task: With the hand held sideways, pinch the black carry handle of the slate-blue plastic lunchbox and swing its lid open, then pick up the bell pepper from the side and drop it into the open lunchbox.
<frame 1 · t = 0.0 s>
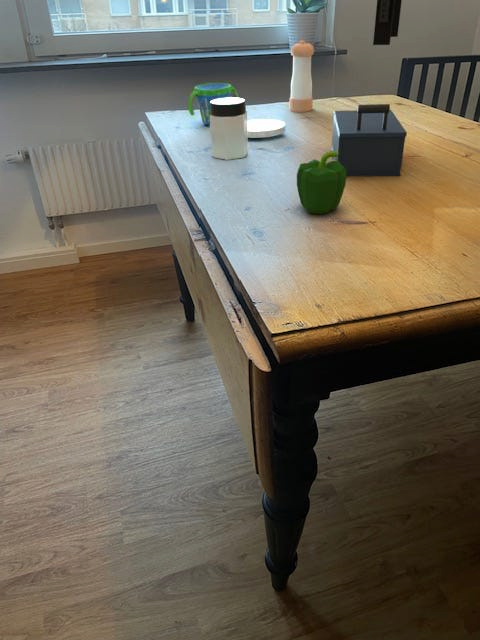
hand: (385, 40, 90), 24 cm above the table, tool pointing down, fingers open, 13 cm apart
lunchbox lid: (368, 111, 105), point 11 cm above the table, hinge at 0.0°
bell pepper: (319, 210, 89), on the table
lunchbox: (363, 161, 111), on the table
pepper shaker: (300, 110, 158), on the table
snack cup: (215, 124, 147), on the table
jar: (230, 155, 120), on the table
plastic lid: (259, 135, 134), on the table
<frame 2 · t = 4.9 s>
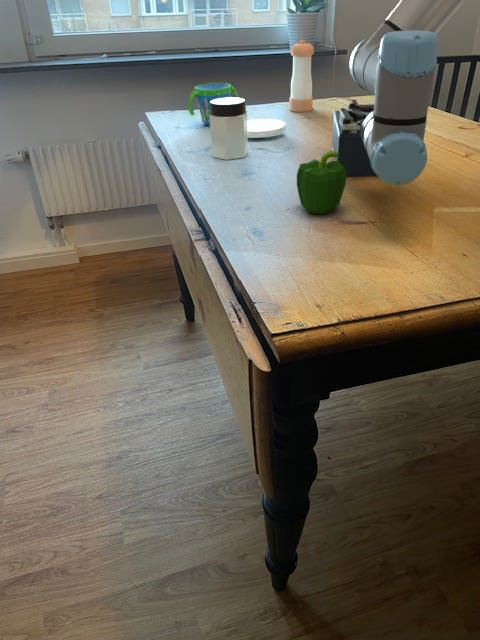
hand: (370, 106, 102), 12 cm above the table, tool horizontal, fingers closed on lunchbox lid, 6 cm apart
lunchbox lid: (368, 111, 105), point 11 cm above the table, hinge at 0.0°, touching gripper
everything else where it was.
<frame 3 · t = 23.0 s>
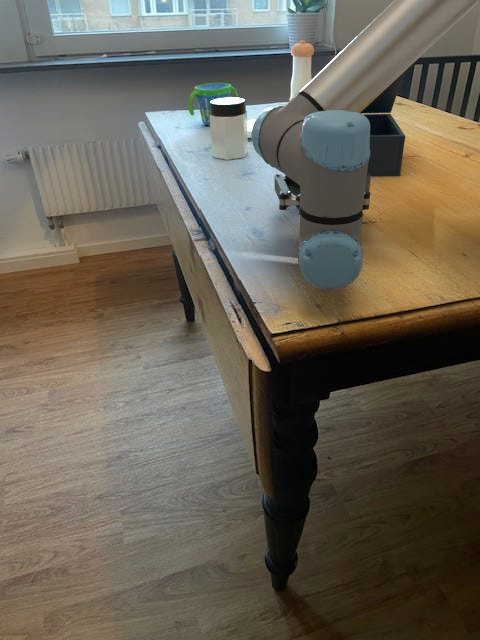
hand: (320, 167, 89), 6 cm above the table, tool horizontal, fingers closed on bell pepper, 8 cm apart
lunchbox lid: (368, 73, 105), point 17 cm above the table, hinge at 43.5°
bell pepper: (319, 210, 89), on the table, touching gripper
everything else where it was.
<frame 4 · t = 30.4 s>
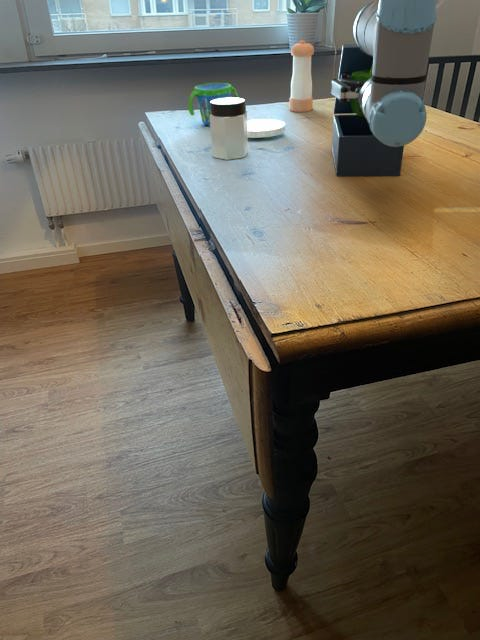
hand: (368, 78, 101), 17 cm above the table, tool horizontal, fingers closed on bell pepper, 8 cm apart
lunchbox lid: (368, 72, 105), point 17 cm above the table, hinge at 46.3°
bell pepper: (368, 116, 101), point 11 cm above the table, touching gripper
everything else where it was.
when the fingers open (9 cm above the table, at t = 33.2 s): bell pepper drops 3 cm, resting on lunchbox.
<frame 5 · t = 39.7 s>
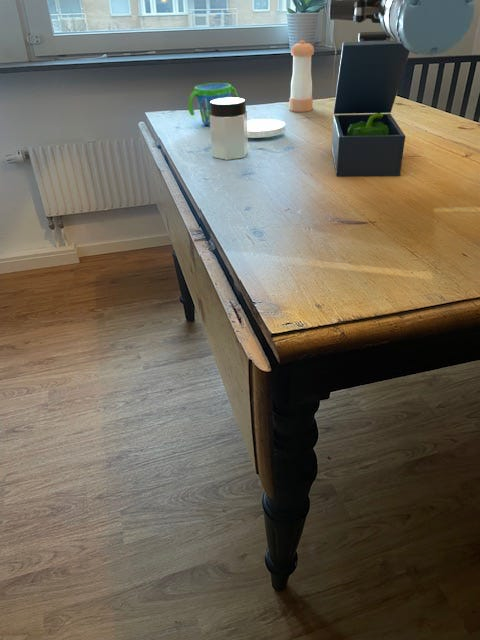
hand: (389, 4, 83), 30 cm above the table, tool horizontal, fingers open, 13 cm apart
lunchbox lid: (368, 71, 105), point 17 cm above the table, hinge at 47.5°
bell pepper: (364, 164, 107), point 1 cm above the table, touching lunchbox
everything else where it was.
at the end: lunchbox lid at +48° (first picture: +0°); bell pepper inside the target area in the lunchbox (4.1 cm from its centre), point 0.7 cm above the lunchbox's base; the gripper is holding nothing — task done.
